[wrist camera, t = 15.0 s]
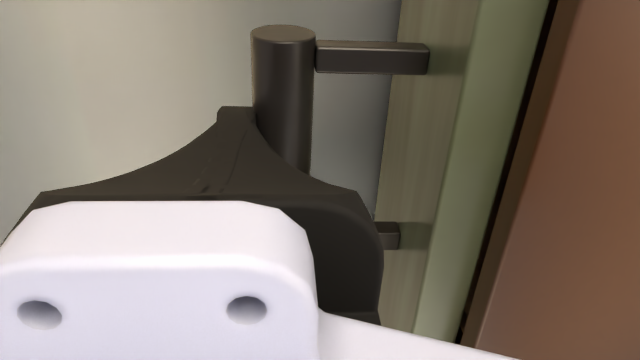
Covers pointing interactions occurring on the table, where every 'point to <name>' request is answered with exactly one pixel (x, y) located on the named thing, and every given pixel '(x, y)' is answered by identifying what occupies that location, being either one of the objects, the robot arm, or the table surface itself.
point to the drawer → (421, 137)
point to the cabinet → (570, 201)
